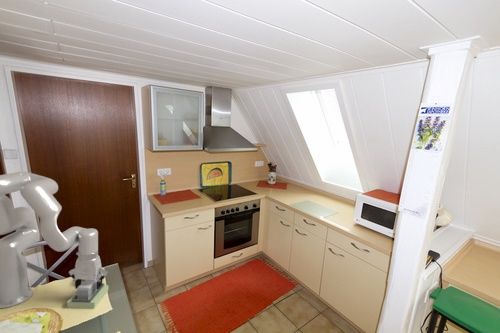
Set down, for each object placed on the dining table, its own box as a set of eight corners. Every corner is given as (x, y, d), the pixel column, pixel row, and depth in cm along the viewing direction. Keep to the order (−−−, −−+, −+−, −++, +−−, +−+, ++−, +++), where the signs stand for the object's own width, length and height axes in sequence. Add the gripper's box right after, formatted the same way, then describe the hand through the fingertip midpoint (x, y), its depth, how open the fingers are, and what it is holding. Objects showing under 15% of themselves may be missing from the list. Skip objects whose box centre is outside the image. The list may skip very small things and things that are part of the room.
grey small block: (77, 299, 105) (76, 287, 104) (89, 286, 114) (89, 275, 113) (88, 299, 105) (88, 288, 104) (99, 286, 114) (99, 276, 113)
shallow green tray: (67, 307, 103) (66, 300, 103) (84, 289, 115) (83, 282, 115) (94, 308, 104) (94, 300, 104) (108, 290, 116) (108, 283, 116)
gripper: (63, 258, 102) (64, 292, 104) (103, 260, 104) (103, 293, 106) (74, 249, 109) (75, 281, 112) (111, 251, 111) (111, 282, 113)
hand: (88, 287), depth 109 cm, fingers open, 9 cm apart
